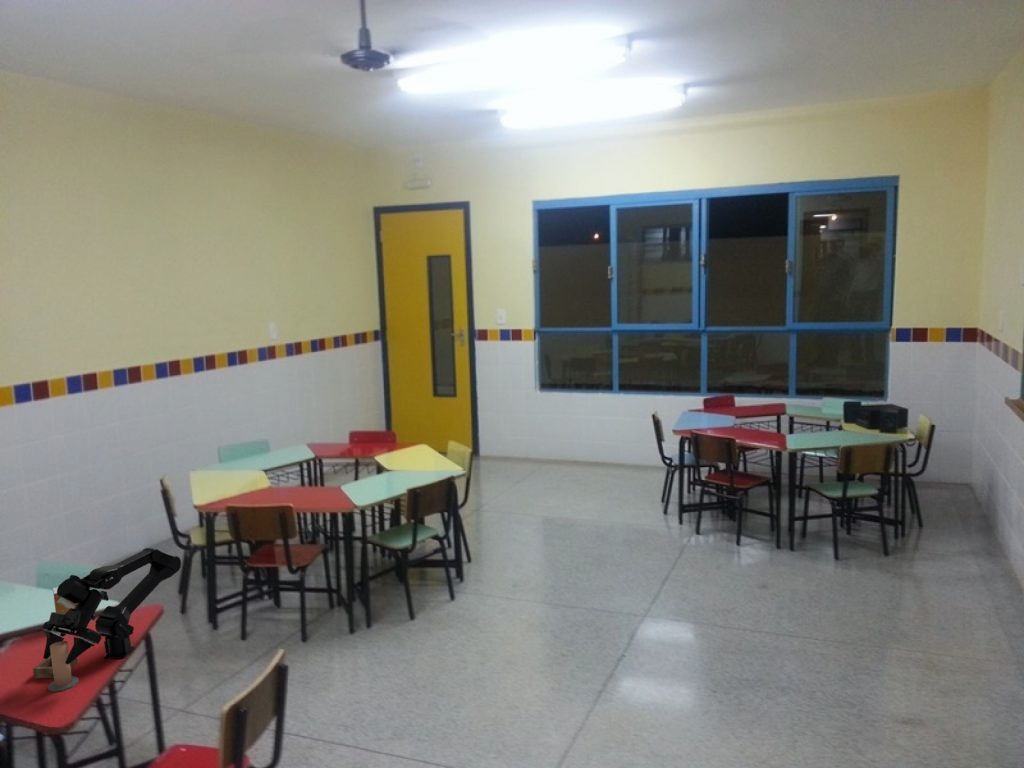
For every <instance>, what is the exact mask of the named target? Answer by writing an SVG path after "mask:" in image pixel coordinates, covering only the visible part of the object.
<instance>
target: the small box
mask: <svg viewBox="0 0 1024 768" xmlns="http://www.w3.org/2000/svg"><path fill="white" fill-rule="evenodd" d="M57 589H58V587H52V594H53V602H54V610H55V612H65V613H67V611H68V610H69V609H70V608H73V609H74V608H75V606H76V604H77V603H75V604H74V603H72V602H70V601H68V600H66V599H64V598H62V597H60V596H58V595H57Z"/></svg>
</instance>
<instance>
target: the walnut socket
mask: <svg viewBox="0 0 1024 768" xmlns="http://www.w3.org/2000/svg"><path fill="white" fill-rule="evenodd" d="M77 664H79V663H78V657H77V658H76V659H75V660H73V661H72V662H71V663H70V667H71V670H72V669H73V668H74V667H76V666H77ZM75 665H76V666H75ZM32 671H33V678H34V679H54V675H53V667H52V659H51V655H50V656H49V657H48V658H47V659H44V660H42V661H41V662H40V663H38V664H37V665H36V666H34V667H33V668H32Z"/></svg>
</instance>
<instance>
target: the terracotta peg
mask: <svg viewBox="0 0 1024 768" xmlns="http://www.w3.org/2000/svg"><path fill="white" fill-rule="evenodd" d="M50 652H51V659H52V667H53V675H54V678H53V679H54V680H53V681H54V682H55V686H56V687H63V686H66V685H69V684H70V683H71V682H72V676H73V675H72V669H71V667H70V664H66V663H65V662H66V659H67V657H68V655H69V653H70V651H69V645H68V641H66V640H63V641H59V642H56V643H53V644H52V645H50Z"/></svg>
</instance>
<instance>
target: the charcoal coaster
mask: <svg viewBox="0 0 1024 768" xmlns="http://www.w3.org/2000/svg"><path fill="white" fill-rule="evenodd" d="M78 683H79V678H78V677H77V676H73V675H72V682H71V683H70V684H69V685H66V686H63V687H56V686H55V682H54V680H53V681H52V682H50V684H49V685H48V686H47V688H48V691H49V692H53V693H58V692H64V691H67V690H70V689H72V688H74V687H75V686H76V685H78Z"/></svg>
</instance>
